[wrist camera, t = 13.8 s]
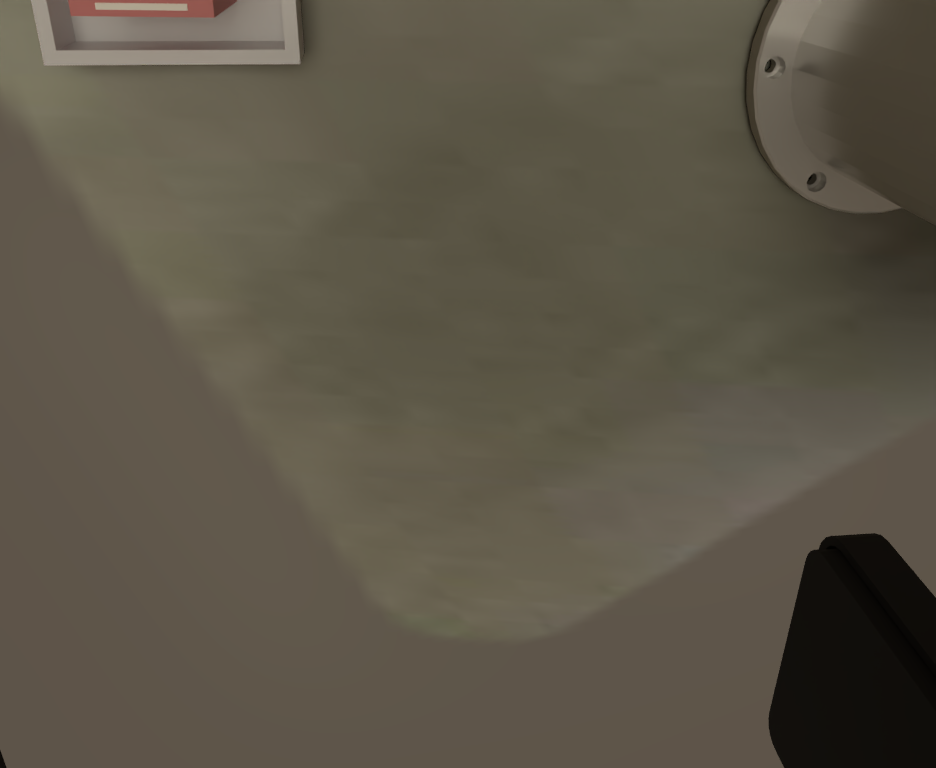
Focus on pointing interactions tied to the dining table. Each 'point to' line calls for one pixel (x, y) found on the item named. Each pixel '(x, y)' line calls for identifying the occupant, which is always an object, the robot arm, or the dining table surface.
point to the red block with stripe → (149, 8)
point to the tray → (173, 36)
